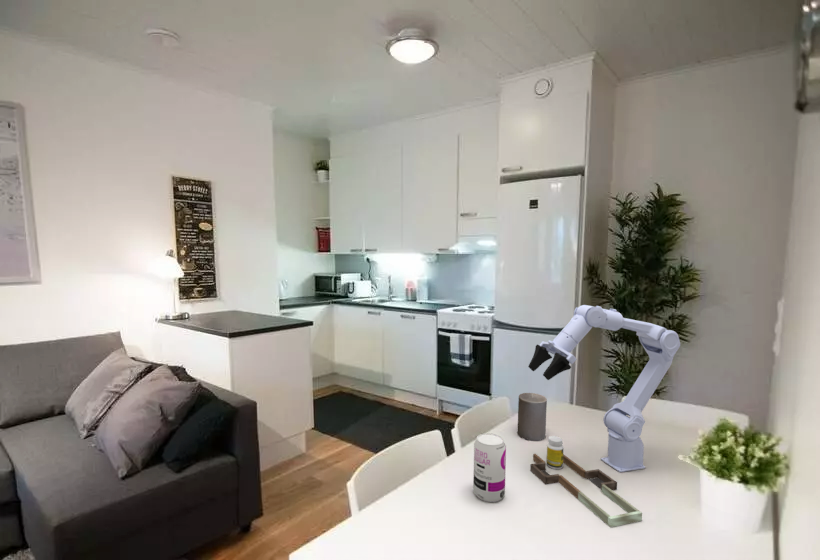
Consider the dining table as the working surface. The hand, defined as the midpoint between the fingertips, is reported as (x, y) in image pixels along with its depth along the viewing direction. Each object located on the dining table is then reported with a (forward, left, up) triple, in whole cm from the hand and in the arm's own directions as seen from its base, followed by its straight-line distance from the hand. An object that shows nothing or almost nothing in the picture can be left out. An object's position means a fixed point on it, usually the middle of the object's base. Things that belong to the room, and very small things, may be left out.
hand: (537, 373), depth 116 cm
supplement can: (+18, +6, -30) cm, 35 cm away
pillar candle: (-13, -23, -30) cm, 40 cm away
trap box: (-8, +9, -30) cm, 32 cm away
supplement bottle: (-8, -3, -30) cm, 31 cm away
